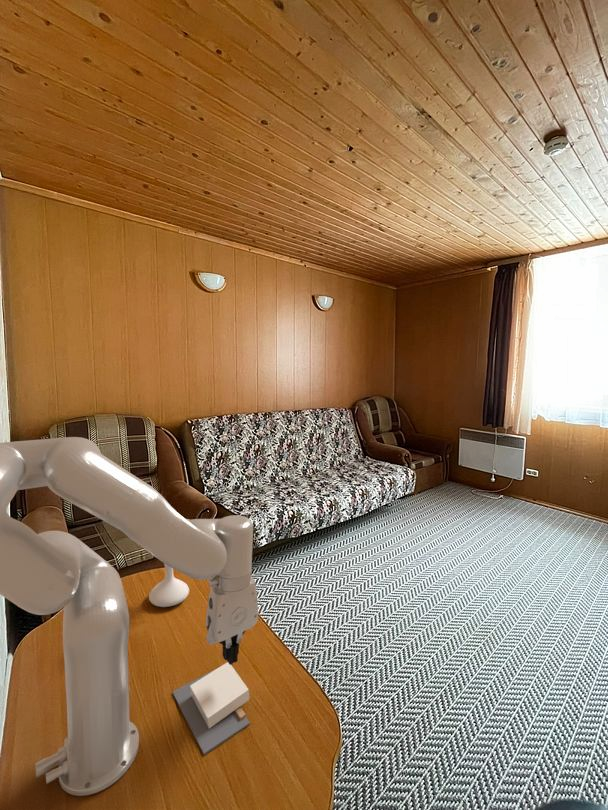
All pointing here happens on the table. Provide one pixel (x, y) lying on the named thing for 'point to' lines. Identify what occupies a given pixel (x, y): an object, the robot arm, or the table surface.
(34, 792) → the table surface
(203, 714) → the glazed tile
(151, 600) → the flower in vase
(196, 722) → the charcoal mat
